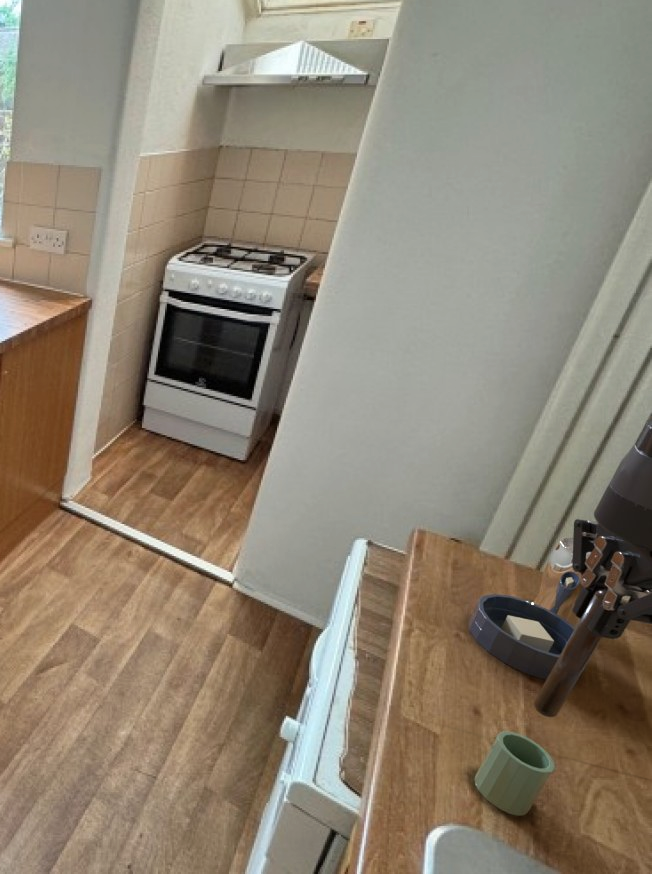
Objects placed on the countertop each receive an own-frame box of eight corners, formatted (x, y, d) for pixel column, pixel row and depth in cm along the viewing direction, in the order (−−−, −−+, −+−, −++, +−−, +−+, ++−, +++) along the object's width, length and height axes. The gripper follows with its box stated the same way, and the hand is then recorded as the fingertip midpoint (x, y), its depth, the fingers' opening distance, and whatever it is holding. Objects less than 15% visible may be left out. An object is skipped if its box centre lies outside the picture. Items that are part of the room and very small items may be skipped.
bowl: (543, 630, 100) (557, 605, 98) (596, 696, 89) (613, 669, 87) (451, 610, 104) (463, 585, 102) (491, 671, 93) (505, 645, 90)
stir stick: (547, 708, 72) (617, 587, 65) (558, 723, 71) (631, 600, 64) (527, 703, 73) (593, 582, 66) (537, 718, 71) (606, 595, 64)
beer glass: (525, 597, 106) (560, 529, 101) (582, 621, 102) (621, 551, 96) (520, 617, 102) (555, 547, 97) (578, 644, 97) (620, 571, 92)
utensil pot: (512, 783, 77) (539, 738, 74) (536, 824, 73) (565, 778, 70) (465, 770, 79) (489, 725, 76) (485, 809, 74) (511, 764, 71)
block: (528, 640, 97) (538, 621, 96) (544, 660, 94) (554, 641, 92) (498, 633, 98) (507, 615, 97) (512, 652, 95) (521, 634, 93)
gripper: (784, 549, 53) (689, 688, 59) (660, 467, 65) (592, 589, 72) (672, 531, 55) (592, 667, 62) (572, 455, 67) (514, 575, 74)
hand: (592, 625), depth 67 cm, fingers closed on stir stick, 2 cm apart
